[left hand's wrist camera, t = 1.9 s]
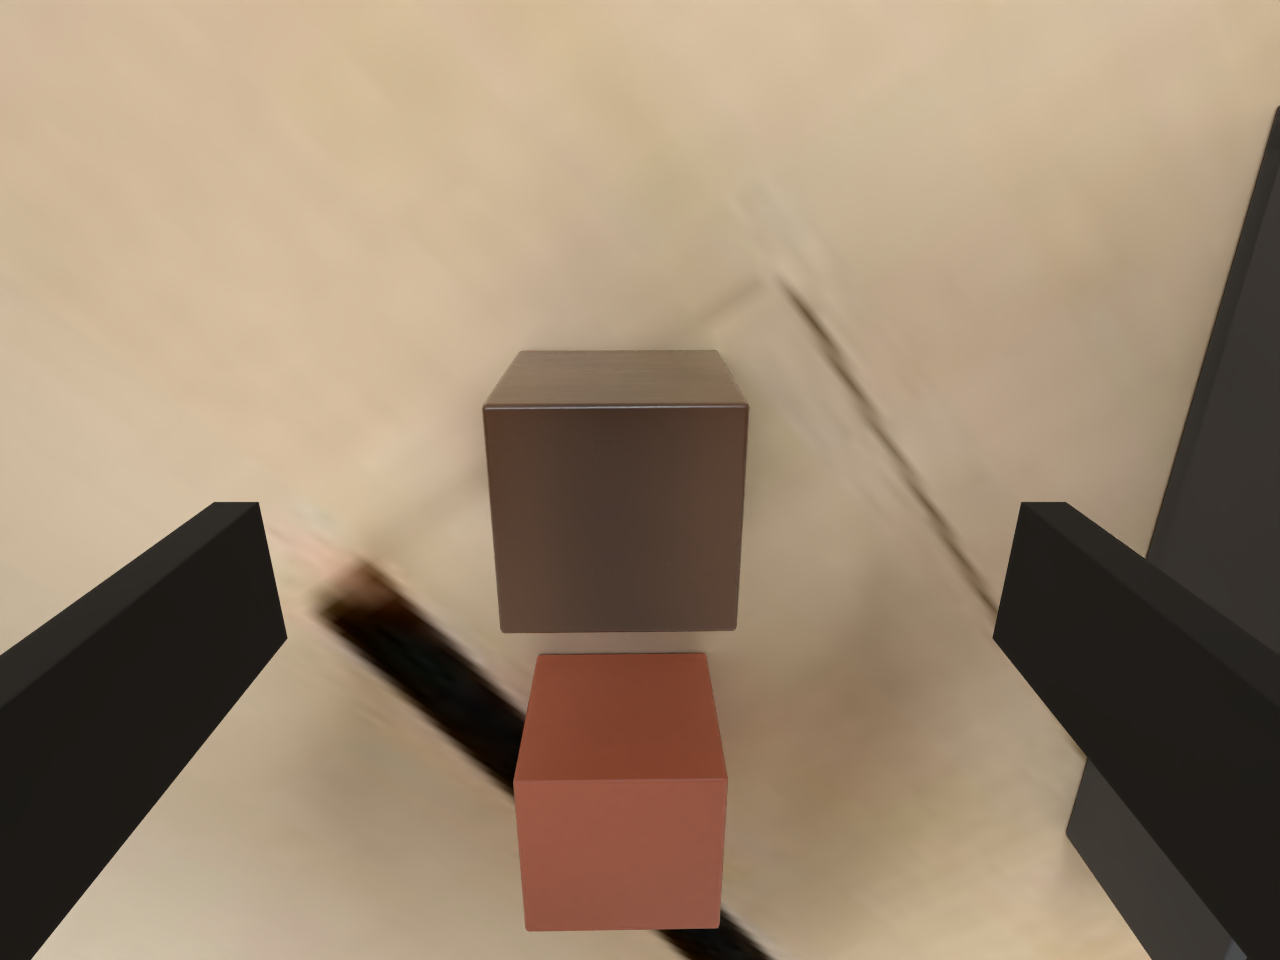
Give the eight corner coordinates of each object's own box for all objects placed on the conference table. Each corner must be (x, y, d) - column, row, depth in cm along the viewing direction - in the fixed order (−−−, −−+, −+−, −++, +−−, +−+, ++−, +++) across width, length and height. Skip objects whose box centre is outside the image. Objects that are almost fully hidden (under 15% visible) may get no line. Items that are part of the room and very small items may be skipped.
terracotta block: (545, 784, 23) (525, 933, 18) (537, 653, 21) (512, 782, 17) (700, 782, 23) (719, 929, 19) (706, 651, 21) (728, 779, 17)
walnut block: (529, 531, 20) (500, 635, 15) (518, 350, 18) (480, 405, 13) (710, 529, 20) (737, 632, 15) (718, 349, 18) (750, 403, 13)
